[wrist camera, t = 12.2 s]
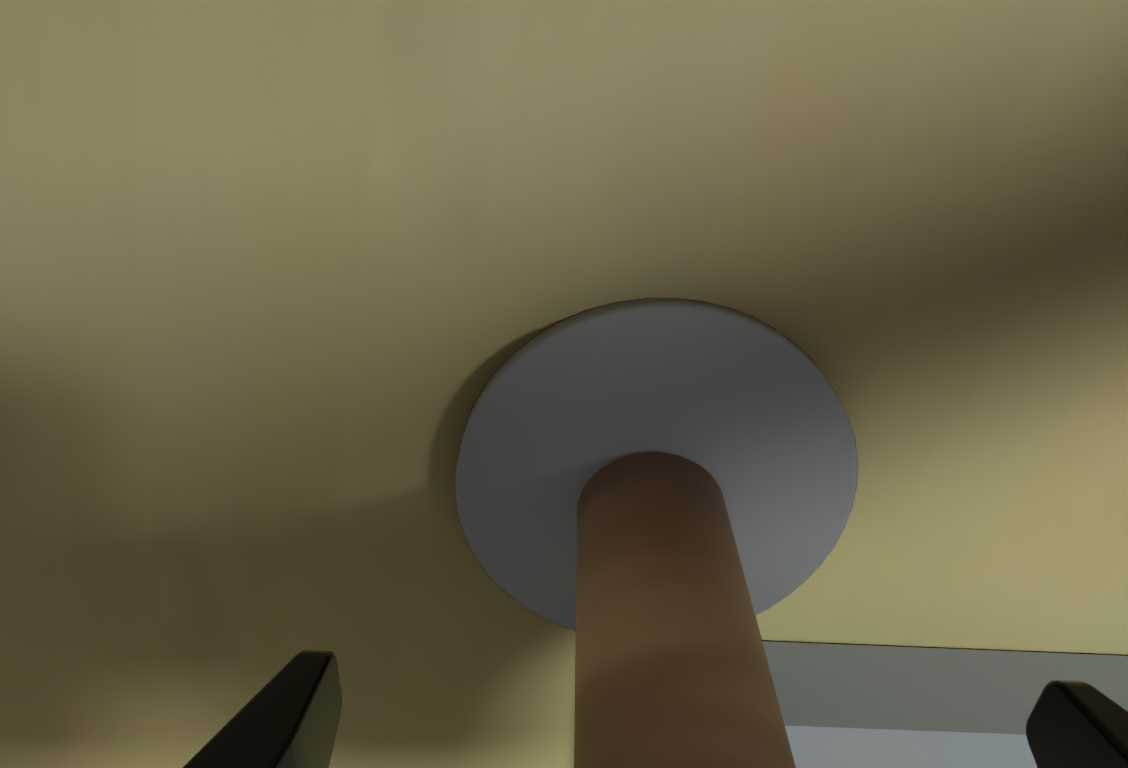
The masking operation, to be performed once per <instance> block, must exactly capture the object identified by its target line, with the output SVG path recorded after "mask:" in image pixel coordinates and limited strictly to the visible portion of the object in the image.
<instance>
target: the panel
mask: <svg viewBox="0 0 1128 768" xmlns="http://www.w3.org/2000/svg"><path fill="white" fill-rule="evenodd" d="M762 643H763V646H764V650H765V654H766V658H767V661H768V665H769V669H770V673H771V676H772V680H773V684H774V688H775V691H776V695H777V699H778V702H779V706H780V710H781V714H782V717H783V721H784V725H785V729H786V732H787V736H788V740H789V744H790V747H791V751H792V755H793V758H794V762H795V766H796V768H1037V765H1036V763H1035V760H1034V757H1033V755H1032V752H1031V750H1030V747H1029V744H1028V741H1027V736H1026V723H1027V720H1028V717H1029V715H1030V714H1031V712H1032V710H1033V708H1034V706H1035V704H1036V702H1037V700H1038V698H1039V696H1040V694H1041V692H1042V690H1043V688H1044V687H1045V685H1046V684H1047V683H1048V682H1050V681H1052V680H1072V681H1082V682H1086V683H1088V684H1090V685H1092V686H1093V687H1095V688H1096V689H1097V690H1099V691H1100V692H1102V693H1103V694H1104V695H1106V696H1107V697H1109V698H1110V699H1111V700H1113V701H1114V702H1116V703H1117V704H1118V705H1120V706H1121V707H1123V708H1124V709H1125V710H1127V711H1128V656H1119V655H1094V654H1069V653H1044V652H1019V651H995V650H970V649H945V648H920V647H895V646H870V645H845V644H820V643H795V642H770V641H762Z"/></svg>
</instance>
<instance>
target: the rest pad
mask: <svg viewBox="0 0 1128 768" xmlns="http://www.w3.org/2000/svg"><path fill="white" fill-rule="evenodd" d="M647 452H660V453H669V454H674V455H678V456H681V457H684V458H687V459H689V460H691V461H693V462H695V463H697V464H699V465H700V466H702V467H703V468H704V469H705V470H707V471H708V472H709V473H710V474H711V475H712V476H713V478H714V479H715V480H716V482H717V483H718V485H719V486H720V489H721V491H722V494H723V497H724V501H725V505H726V508H727V512H728V516H729V520H730V523H731V527H732V531H733V534H734V538H735V542H736V546H737V549H738V553H739V557H740V561H741V564H742V568H743V572H744V576H745V579H746V583H747V587H748V590H749V594H750V598H751V602H752V605H753V609H754V613H755V615H757V614H759V613H761V612H763V611H765V610H767V609H768V608H770V607H772V606H773V605H775V604H776V603H778V602H779V601H781V600H782V599H784V598H785V597H787V596H788V595H789V594H791V593H792V592H793V591H794V590H795V589H796V588H798V587H799V586H800V585H801V584H802V583H804V582H805V581H806V580H807V579H808V578H809V577H810V576H811V575H812V574H813V572H814V571H815V570H816V569H817V568H818V567H819V566H820V565H821V564H822V563H823V561H824V560H825V558H826V557H827V556H828V554H829V553H830V552H831V550H832V549H833V547H834V546H835V544H836V542H837V541H838V539H839V537H840V535H841V533H842V531H843V530H844V528H845V525H846V523H847V520H848V517H849V515H850V512H851V509H852V506H853V502H854V497H855V492H856V487H857V474H858V459H857V450H856V442H855V438H854V435H853V431H852V428H851V424H850V421H849V418H848V416H847V414H846V412H845V410H844V408H843V406H842V404H841V402H840V400H839V398H838V397H837V395H836V394H835V392H834V391H833V389H832V388H831V386H830V385H829V383H828V382H827V380H826V379H825V378H824V376H823V375H822V373H821V372H820V371H819V369H818V368H817V366H816V365H815V364H814V362H813V361H812V360H811V359H810V358H809V357H808V356H807V355H806V354H805V353H804V352H803V351H802V350H801V349H800V348H799V347H798V346H797V345H796V344H795V343H793V342H792V341H791V340H789V339H788V338H787V337H785V336H784V335H783V334H781V333H780V332H779V331H778V330H776V329H774V328H772V327H771V326H769V325H767V324H765V323H763V322H761V321H760V320H758V319H756V318H754V317H752V316H749V315H747V314H744V313H741V312H739V311H736V310H734V309H731V308H728V307H724V306H720V305H716V304H712V303H707V302H703V301H696V300H687V299H678V298H645V299H638V300H631V301H623V302H616V303H613V304H609V305H605V306H601V307H597V308H594V309H590V310H587V311H585V312H582V313H580V314H577V315H575V316H572V317H570V318H567V319H565V320H563V321H561V322H559V323H557V324H555V325H554V326H552V327H550V328H548V329H546V330H545V331H543V332H541V333H539V334H538V335H537V336H535V337H534V338H533V339H531V340H530V341H528V342H527V343H526V344H524V345H523V346H522V347H520V348H519V349H518V350H517V351H516V352H515V353H514V354H513V355H512V356H511V357H510V358H509V359H507V360H506V361H505V362H504V363H503V364H502V365H501V366H500V367H499V369H498V370H497V371H496V373H495V374H494V375H493V376H492V378H491V379H490V380H489V382H488V383H487V384H486V385H485V387H484V389H483V390H482V392H481V394H480V396H479V398H478V399H477V401H476V403H475V405H474V406H473V409H472V412H471V414H470V417H469V419H468V422H467V425H466V427H465V431H464V435H463V439H462V443H461V447H460V452H459V457H458V461H457V466H456V481H455V493H456V502H457V511H458V514H459V518H460V522H461V525H462V529H463V532H464V534H465V536H466V539H467V541H468V543H469V545H470V548H471V550H472V551H473V553H474V554H475V556H476V558H477V559H478V561H479V562H480V564H481V566H482V567H483V568H484V569H485V571H486V572H487V573H488V574H489V575H490V577H491V578H492V579H493V580H494V581H495V582H496V583H497V584H498V585H499V586H500V587H501V588H502V589H503V590H504V591H505V592H506V593H508V594H509V595H510V596H511V597H512V598H513V599H515V600H516V601H518V602H519V603H521V604H522V605H523V606H525V607H526V608H528V609H529V610H531V611H533V612H534V613H536V614H538V615H540V616H542V617H544V618H545V619H547V620H549V621H552V622H554V623H557V624H559V625H562V626H564V627H566V628H569V629H572V630H576V561H577V506H578V500H579V497H580V494H581V492H582V490H583V488H584V487H585V485H586V484H587V482H588V481H589V480H590V479H591V478H592V477H593V475H594V474H595V473H597V472H598V471H599V470H600V469H602V468H603V467H605V466H606V465H608V464H609V463H611V462H613V461H616V460H618V459H620V458H623V457H626V456H629V455H634V454H638V453H647Z"/></svg>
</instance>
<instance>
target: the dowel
mask: <svg viewBox="0 0 1128 768" xmlns="http://www.w3.org/2000/svg"><path fill="white" fill-rule="evenodd" d="M574 768H796V766H795V762H794V758H793V755H792V751H791V747H790V744H789V740H788V736H787V732H786V729H785V725H784V721H783V717H782V714H781V710H780V706H779V702H778V699H777V695H776V691H775V688H774V684H773V680H772V676H771V673H770V669H769V665H768V661H767V658H766V654H765V650H764V646H763V643H762V639H761V635H760V632H759V628H758V624H757V620H756V617H755V613H754V609H753V605H752V602H751V598H750V594H749V590H748V587H747V583H746V579H745V576H744V572H743V568H742V564H741V561H740V557H739V553H738V549H737V546H736V542H735V538H734V534H733V531H732V527H731V523H730V520H729V516H728V512H727V508H726V505H725V501H724V497H723V494H722V491H721V489H720V486H719V485H718V483H717V482H716V480H715V479H714V478H713V476H712V475H711V474H710V473H709V472H708V471H707V470H705V469H704V468H703V467H702V466H700V465H699V464H697V463H695V462H693V461H691V460H689V459H687V458H684V457H681V456H678V455H674V454H669V453H660V452H647V453H638V454H634V455H629V456H626V457H623V458H620V459H618V460H616V461H613V462H611V463H609V464H608V465H606V466H605V467H603V468H602V469H600V470H599V471H598V472H597V473H595V474H594V475H593V477H592V478H591V479H590V480H589V481H588V482H587V484H586V485H585V487H584V488H583V490H582V492H581V494H580V497H579V500H578V506H577V561H576V653H575V746H574Z"/></svg>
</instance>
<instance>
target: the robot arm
mask: <svg viewBox="0 0 1128 768" xmlns="http://www.w3.org/2000/svg"><path fill="white" fill-rule="evenodd" d="M341 706H342V694H341V687H340V680H339V673H338V666H337V659H336V656H335V655H334V653H333V652H330V651H312V650H306V651H302V652H300V653H298V654H297V655H296V656H295V657H294V658H293V659H292V660H291V661H290V662H289V663H288V664H287V665H286V666H285V667H284V668H283V669H282V670H281V671H280V672H279V673H278V674H277V675H276V676H275V677H274V678H273V679H272V680H271V681H269V682H268V683H267V684H266V685H265V686H264V687H263V688H262V689H261V690H260V691H259V692H258V693H257V694H256V695H255V696H254V697H253V698H252V699H251V700H250V701H249V702H248V703H247V704H246V705H245V706H244V707H243V708H242V709H241V710H240V711H239V712H238V713H237V714H236V715H235V716H234V717H233V718H232V719H231V720H230V721H229V722H228V723H227V724H226V725H225V726H224V727H223V728H222V729H221V730H220V731H219V732H218V733H217V734H216V735H215V736H214V737H213V738H212V739H211V740H210V741H209V742H208V743H207V744H206V745H205V746H204V747H203V748H202V749H201V750H200V751H199V752H198V753H197V754H196V755H195V756H194V757H193V758H192V759H191V760H190V761H189V762H188V763H187V764H186V765H185V766H184V767H183V768H329V763H330V759H331V754H332V750H333V745H334V741H335V736H336V732H337V727H338V723H339V718H340V713H341ZM1026 736H1027V741H1028V744H1029V747H1030V750H1031V752H1032V755H1033V757H1034V760H1035V763H1036V765H1037V768H1128V711H1127V710H1125V709H1124V708H1123V707H1121V706H1120V705H1118V704H1117V703H1116V702H1114V701H1113V700H1111V699H1110V698H1109V697H1107V696H1106V695H1104V694H1103V693H1102V692H1100V691H1099V690H1097V689H1096V688H1095V687H1093V686H1092V685H1090V684H1088V683H1086V682H1082V681H1072V680H1052V681H1050V682H1048V683H1047V684H1046V685H1045V687H1044V688H1043V690H1042V692H1041V694H1040V696H1039V698H1038V700H1037V702H1036V704H1035V706H1034V708H1033V710H1032V712H1031V714H1030V715H1029V717H1028V720H1027V723H1026Z"/></svg>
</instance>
